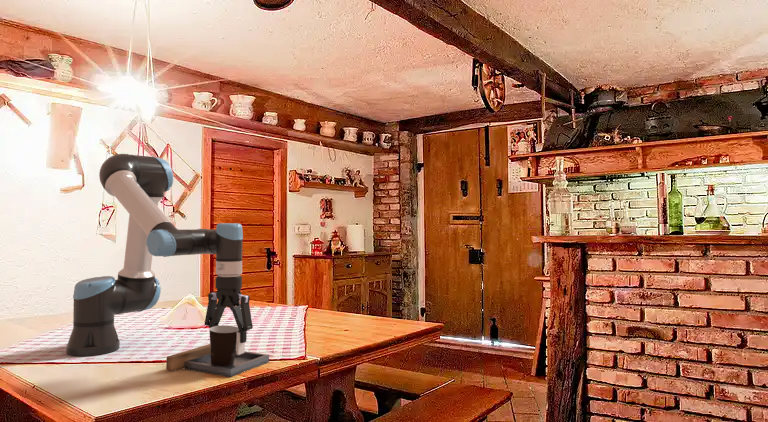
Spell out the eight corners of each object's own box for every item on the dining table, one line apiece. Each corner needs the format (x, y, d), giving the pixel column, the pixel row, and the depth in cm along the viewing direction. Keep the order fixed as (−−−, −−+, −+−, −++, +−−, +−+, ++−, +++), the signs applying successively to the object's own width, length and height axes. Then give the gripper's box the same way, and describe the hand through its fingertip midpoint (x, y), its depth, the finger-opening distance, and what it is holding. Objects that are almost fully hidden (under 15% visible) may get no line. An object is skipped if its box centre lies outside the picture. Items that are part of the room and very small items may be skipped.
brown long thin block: (166, 370, 149) (166, 356, 149) (216, 354, 167) (216, 341, 167) (172, 371, 148) (172, 357, 148) (222, 355, 166) (222, 342, 166)
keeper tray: (184, 369, 151) (184, 361, 151) (225, 355, 166) (225, 348, 166) (230, 377, 144) (230, 369, 144) (269, 362, 159) (269, 354, 159)
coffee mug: (228, 369, 149) (231, 334, 149) (201, 365, 151) (203, 330, 150) (247, 357, 160) (249, 325, 160) (221, 354, 162) (223, 322, 162)
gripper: (192, 274, 156) (190, 350, 156) (249, 278, 147) (248, 359, 147) (210, 272, 163) (209, 345, 163) (266, 276, 154) (265, 353, 154)
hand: (227, 351), depth 155 cm, fingers open, 9 cm apart
